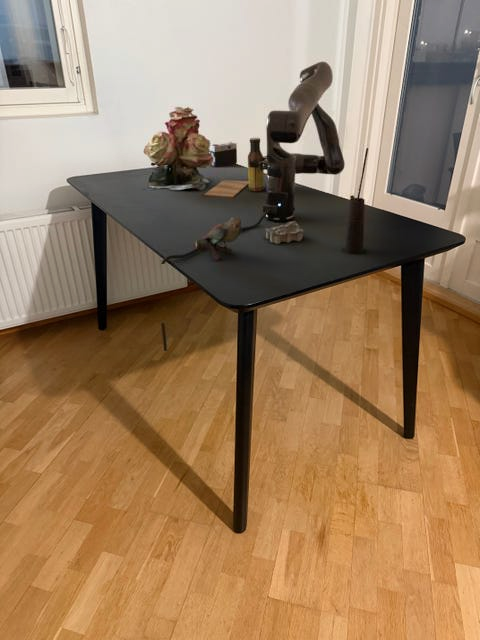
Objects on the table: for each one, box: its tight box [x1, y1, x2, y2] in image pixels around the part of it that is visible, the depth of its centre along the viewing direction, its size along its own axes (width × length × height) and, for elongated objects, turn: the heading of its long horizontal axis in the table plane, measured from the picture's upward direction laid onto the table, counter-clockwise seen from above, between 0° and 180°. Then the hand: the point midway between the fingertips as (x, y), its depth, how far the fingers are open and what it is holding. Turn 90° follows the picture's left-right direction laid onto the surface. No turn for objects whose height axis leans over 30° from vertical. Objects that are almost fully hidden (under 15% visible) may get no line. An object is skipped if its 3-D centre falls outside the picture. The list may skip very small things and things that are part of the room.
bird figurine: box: [195, 216, 243, 261], centre depth 126 cm, size 13×10×20 cm
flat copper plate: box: [204, 179, 249, 199], centre depth 190 cm, size 24×12×1 cm, turn 163°
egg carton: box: [264, 220, 305, 245], centre depth 139 cm, size 11×8×4 cm
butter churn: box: [344, 147, 369, 255], centre depth 125 cm, size 9×10×28 cm
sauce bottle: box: [247, 137, 265, 193], centre depth 184 cm, size 6×6×20 cm
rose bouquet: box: [143, 106, 213, 191], centre depth 191 cm, size 26×29×30 cm
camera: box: [209, 141, 238, 168], centre depth 230 cm, size 14×8×10 cm, turn 130°
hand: (251, 162), depth 183 cm, fingers open, 8 cm apart
